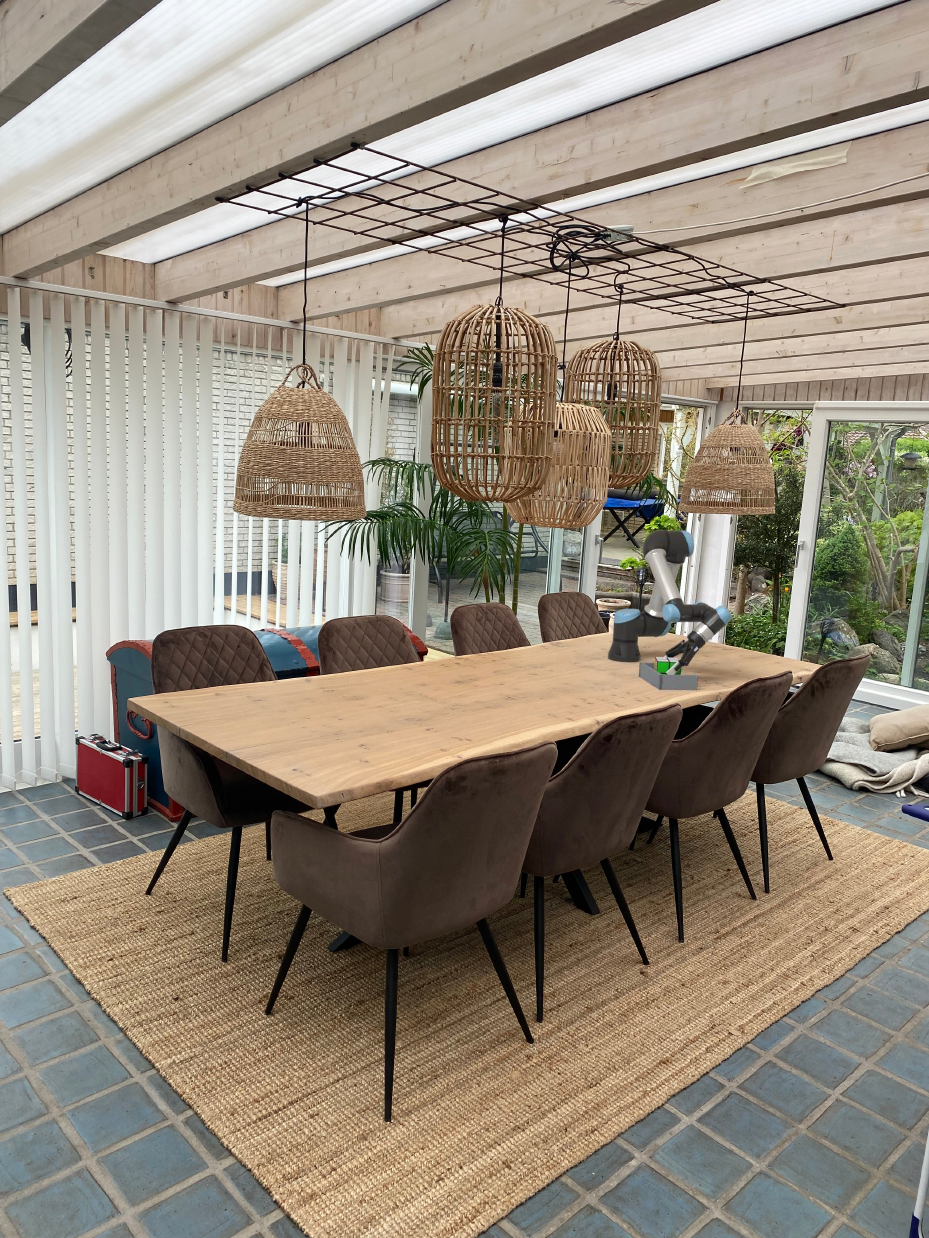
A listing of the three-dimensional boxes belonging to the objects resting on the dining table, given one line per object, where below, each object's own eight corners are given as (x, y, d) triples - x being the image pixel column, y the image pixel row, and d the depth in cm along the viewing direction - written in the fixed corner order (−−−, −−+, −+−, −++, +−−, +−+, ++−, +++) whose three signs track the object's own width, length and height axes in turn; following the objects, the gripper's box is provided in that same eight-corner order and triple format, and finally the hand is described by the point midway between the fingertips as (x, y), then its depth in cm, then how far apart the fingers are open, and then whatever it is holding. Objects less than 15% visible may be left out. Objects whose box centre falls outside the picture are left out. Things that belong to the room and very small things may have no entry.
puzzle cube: (677, 681, 374) (678, 658, 373) (680, 686, 364) (682, 662, 363) (652, 680, 375) (654, 656, 374) (655, 685, 365) (657, 661, 364)
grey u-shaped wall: (638, 676, 381) (639, 662, 380) (673, 676, 383) (674, 662, 382) (659, 689, 356) (660, 675, 355) (696, 690, 358) (697, 675, 358)
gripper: (717, 648, 357) (679, 684, 357) (693, 637, 382) (657, 671, 382) (706, 635, 356) (667, 671, 356) (682, 625, 380) (646, 659, 380)
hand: (662, 671), depth 369 cm, fingers open, 13 cm apart
